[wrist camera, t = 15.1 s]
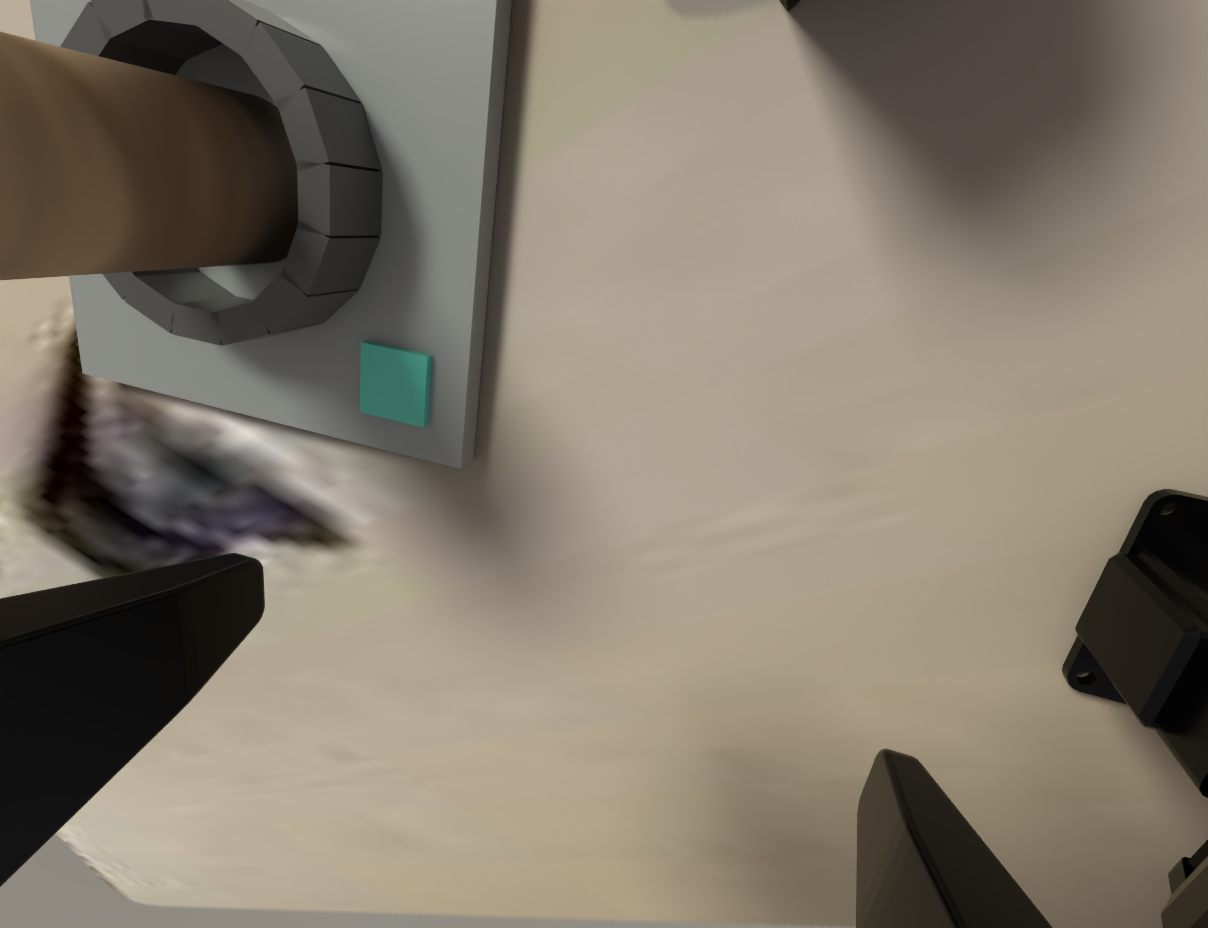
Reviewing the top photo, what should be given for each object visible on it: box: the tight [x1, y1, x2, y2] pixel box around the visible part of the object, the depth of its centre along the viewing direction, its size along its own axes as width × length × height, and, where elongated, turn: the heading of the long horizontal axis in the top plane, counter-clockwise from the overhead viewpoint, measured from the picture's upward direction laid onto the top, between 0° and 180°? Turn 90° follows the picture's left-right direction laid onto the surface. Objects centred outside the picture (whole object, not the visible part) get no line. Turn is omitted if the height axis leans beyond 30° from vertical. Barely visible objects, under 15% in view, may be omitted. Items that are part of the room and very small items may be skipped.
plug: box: [0, 32, 298, 280], centre depth 15 cm, size 5×5×13 cm
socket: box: [30, 0, 512, 469], centre depth 20 cm, size 16×16×4 cm
